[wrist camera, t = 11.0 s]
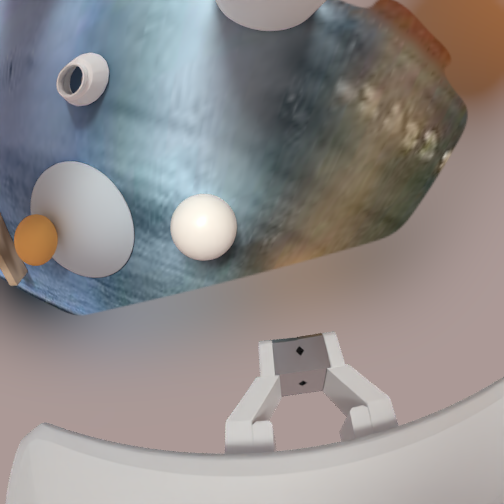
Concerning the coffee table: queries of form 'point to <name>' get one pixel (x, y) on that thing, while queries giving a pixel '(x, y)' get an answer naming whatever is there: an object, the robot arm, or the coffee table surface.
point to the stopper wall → (10, 257)
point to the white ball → (203, 227)
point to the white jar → (84, 79)
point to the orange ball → (35, 240)
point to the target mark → (85, 218)
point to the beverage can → (269, 12)
